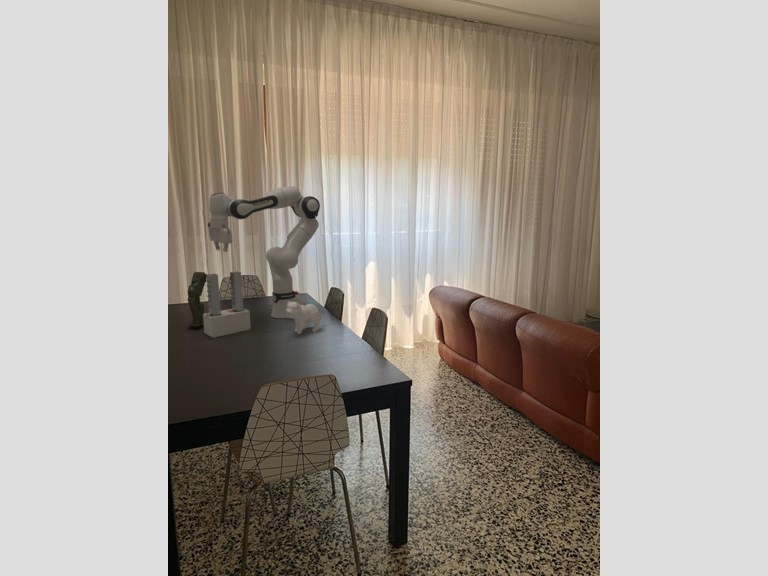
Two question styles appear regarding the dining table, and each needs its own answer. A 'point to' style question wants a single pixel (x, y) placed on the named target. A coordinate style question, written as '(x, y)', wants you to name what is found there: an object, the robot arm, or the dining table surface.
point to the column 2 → (236, 291)
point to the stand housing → (226, 323)
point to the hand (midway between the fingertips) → (221, 250)
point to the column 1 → (213, 295)
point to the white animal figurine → (303, 315)
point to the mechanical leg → (196, 299)
